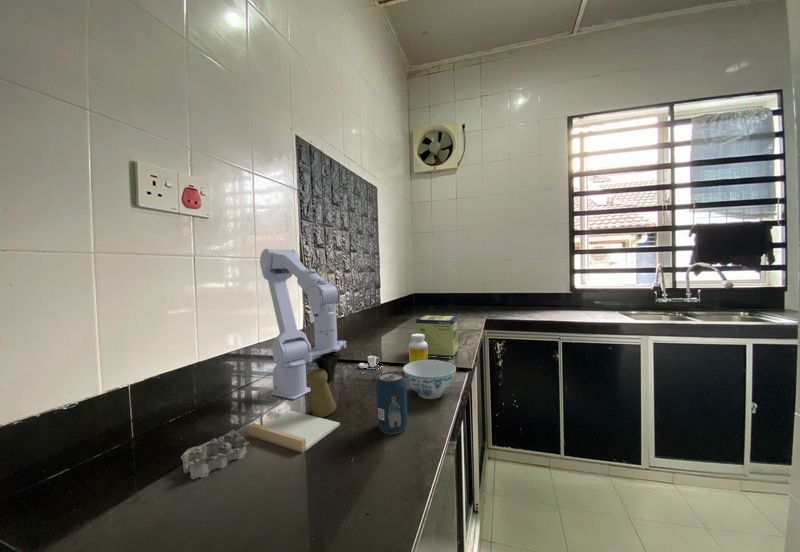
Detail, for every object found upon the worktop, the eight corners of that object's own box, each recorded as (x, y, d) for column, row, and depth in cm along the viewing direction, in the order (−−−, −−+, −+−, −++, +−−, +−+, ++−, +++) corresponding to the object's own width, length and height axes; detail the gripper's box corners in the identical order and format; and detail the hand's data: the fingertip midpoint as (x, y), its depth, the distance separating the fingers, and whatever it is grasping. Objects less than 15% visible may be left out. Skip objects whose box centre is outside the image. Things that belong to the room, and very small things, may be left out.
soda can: (393, 417, 76) (391, 369, 76) (413, 427, 71) (412, 375, 71) (371, 428, 71) (369, 376, 71) (391, 439, 67) (390, 384, 66)
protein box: (454, 359, 122) (453, 320, 122) (416, 356, 128) (415, 319, 127) (458, 352, 132) (457, 315, 132) (423, 350, 137) (422, 315, 137)
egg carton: (192, 485, 55) (191, 463, 54) (179, 469, 59) (178, 448, 59) (251, 456, 63) (250, 436, 62) (236, 443, 67) (235, 425, 67)
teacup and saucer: (356, 370, 113) (356, 359, 113) (363, 364, 121) (362, 353, 121) (380, 371, 112) (379, 360, 112) (385, 364, 120) (384, 354, 120)
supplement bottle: (429, 374, 106) (428, 336, 106) (409, 374, 107) (408, 337, 106) (427, 367, 113) (426, 332, 113) (409, 368, 113) (408, 333, 113)
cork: (330, 417, 77) (321, 378, 74) (308, 417, 78) (298, 379, 75) (339, 401, 83) (331, 364, 80) (318, 401, 84) (309, 365, 81)
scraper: (249, 435, 70) (248, 425, 70) (290, 412, 81) (290, 403, 81) (302, 452, 63) (302, 441, 63) (339, 425, 73) (339, 415, 73)
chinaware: (431, 411, 79) (430, 381, 79) (393, 394, 90) (392, 368, 90) (467, 393, 89) (466, 367, 89) (429, 380, 100) (428, 356, 100)
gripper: (318, 337, 73) (320, 394, 73) (354, 325, 86) (356, 374, 86) (296, 334, 76) (298, 389, 77) (334, 324, 89) (336, 371, 90)
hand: (327, 381), depth 82 cm, fingers closed
